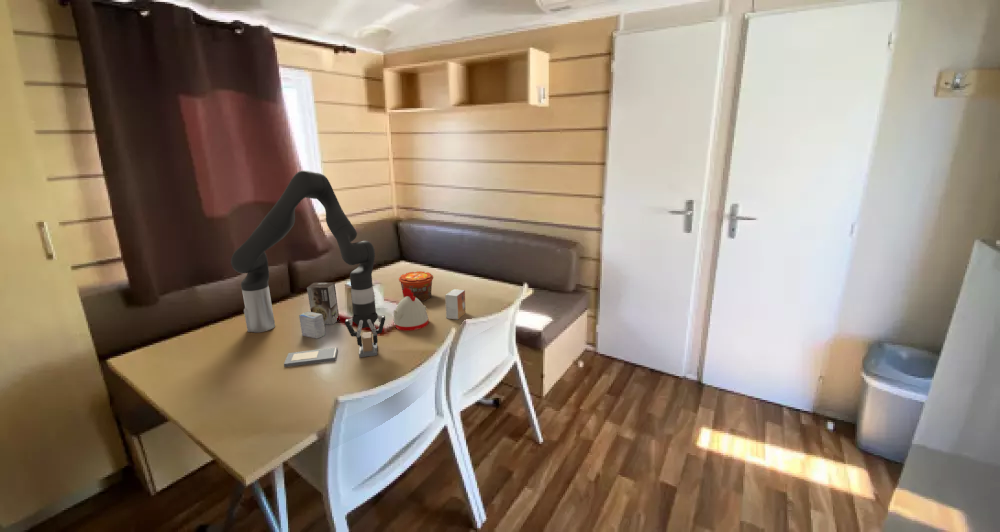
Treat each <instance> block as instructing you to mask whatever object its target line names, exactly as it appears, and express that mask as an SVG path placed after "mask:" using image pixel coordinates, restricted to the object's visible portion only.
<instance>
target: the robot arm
mask: <svg viewBox="0 0 1000 532" xmlns="http://www.w3.org/2000/svg"><path fill="white" fill-rule="evenodd" d="M305 198H307V199H313V200H317V201H318V202H319V203H320V204H321V205H322V206H323V208H324V210H325V223H326V225H327V227H328V229H329V231H330V232H331V234H332V235H333V237H334V238H335V240H336V242H337V245H338V249H339V251H340V256H341V259H342V260H343V261H344V263H345V264H347V265H349V266H355V265H358V266H357V268H355V269H354V270H351V272H350V274H349V281H350V288H351V289H350V295H351V307H352V318H346V319H345V321H344V325H345V327H346V329H347V331H348V332H349V334H350V336H351V337H355V338H356V342H357V343H356V344H357V345H358V346H359V347H362V344H363V343H362V329H364V328H369V329H370V330H371V331H370V332H371V333H372V343H374V345H376V343H377V344H378V343H379V341H378V335H379V334H382V333H383V329H384V325H385V323H386V322H385V321H386V315H385V314H384V315H379V314H378V313H377V308H376V307H377V306H376V299H375V298H376V295H375V291H374V286H373V277H372V275H373V270H374V269H373V268H374V262H375V258H376V257H375V256H376V253H375V252H376V251H375V248H374V246H373V244H372V242H370V241H369V240H362V241H357V242H353V241H354V240H355V239H356V238H357V236H358V232H357V230H356V228H355V227H354V225H353V224H352V223H351V221H350V219H349V218H348V216H347V215H346V214H345V212H344V210H343V208H342V206H341V205H340V202H339V200H338V198H337V196H336V193H335V191H334V188H333V187H332V185H331V182H330V180H329V179H328V177H327V176H326V175H324V174H323V173H320V172H316V171H311V170H303V169H302V170H299V171H297V172H296V173H295V174H294V176H292V178H291V180H290V181H289V182H288V184H287V186H286V188H285V190H284V191H283V193H282V194H281V195H280V197H279V198H278V200H277V202H276V203H275V204H274V205H273V207H272V208H271V209H270V211H268V213H267V214H266V215H265V216H264V218H263V219H262V220H261V222H260V223H259V224H258V226H257V227H256V228H255V229H254V231H252V233H251V235H250V236H248V238H247V239H246V241H245V242H244V243H242V244H241V245H240V246H239V247H238V248H237V249H236V250H235V251H234V252H233V254H232V256H231V258H230V264H231V267H232V269H233V271H235V272H236V273H239V274H246V276H245V277H244V279H243V280H242V281H241V283H240V287H241V293H242V296H243V297H242V298H243V303H244V308H243V313H244V318H245V319H244V320H245V324H246V330H247V332H248V333H263V332H264V333H265V332H268V331H270V330H272V329H274V328H275V327H276V323H275V318H274V317H275V316H274V311H273V305H272V298H271V293H270V292H271V291H270V287H269V280H270V270H269V261H268V255H267V253H266V251H267V250H269V249H271V248H272V247H273V246H274V245H276V244H277V243H279V242H280V241H281V240H283V239H284V238H285V237H286V236H287V235H288V234H289V232H290V231H291V229H292V228H293V227H294V225H295V222H296V208H297V206H298V205H299V204H300V202H302V200H304V199H305ZM352 242H353V243H352ZM377 320H378V322H379V325H378V328H376V325H375V323H376V322H377ZM353 322H354V324H355V325H357V331H355V329H354V327H353Z"/></svg>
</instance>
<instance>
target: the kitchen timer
mask: <svg viewBox="0 0 1000 532" xmlns="http://www.w3.org/2000/svg"><path fill="white" fill-rule="evenodd" d="M401 290H402V289H401ZM403 295H404V297H403V298H401V300H400V301H399V302H398V304H397V305H396V308H395V309H394V310H393V321H394V322H393V324H394V323H395V324H396V328H397V329H396V328H395V329H396V330H400V331H416V330H420V329H424V328H425V327H427V326H428V324H429V315H428V313H427V306H426V305H424V304H423V303H422V301H420V300H419V299H417V298H416V296H413V293H411V289H409V288H408V289H406V288H404V290H402V296H403Z"/></svg>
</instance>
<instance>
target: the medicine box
mask: <svg viewBox="0 0 1000 532" xmlns="http://www.w3.org/2000/svg"><path fill="white" fill-rule="evenodd" d="M298 316H299V318H298V319H299V323H300V328H301V336H303V337H308V338H313V339H316V340H318V339H320V338H321V337H323V336H325V335H326V328H325V324H324V321H323V315H322V314H319V313H314V312H311V311H306V312H303V313H301V314H300V315H298Z"/></svg>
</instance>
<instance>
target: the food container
mask: <svg viewBox="0 0 1000 532" xmlns="http://www.w3.org/2000/svg"><path fill="white" fill-rule="evenodd" d="M433 279H434V275H433V274H431V272H428V271H427V272H425V271H418V270H417V271H409V272H406V273H405V274H404V273H403V274H401V275H400V277H399V278H398V281H399V282H400V286H401V290H404V288H406V289H408V288H409V289H411V293H413V296H416V298H417V299H419V300H420V301H421V302H424V301H427V300H429V299H430V298H432V287H433ZM402 296H403V298H404V295H403V294H402Z"/></svg>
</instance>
